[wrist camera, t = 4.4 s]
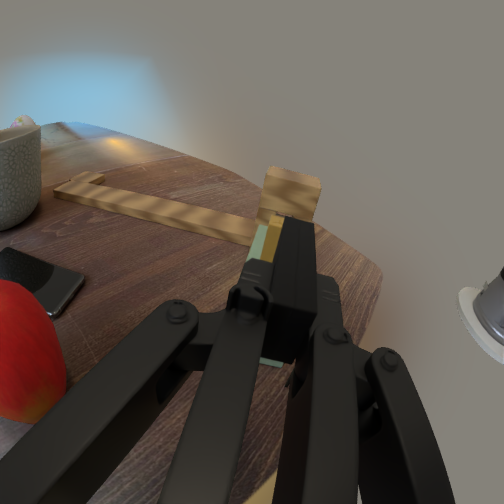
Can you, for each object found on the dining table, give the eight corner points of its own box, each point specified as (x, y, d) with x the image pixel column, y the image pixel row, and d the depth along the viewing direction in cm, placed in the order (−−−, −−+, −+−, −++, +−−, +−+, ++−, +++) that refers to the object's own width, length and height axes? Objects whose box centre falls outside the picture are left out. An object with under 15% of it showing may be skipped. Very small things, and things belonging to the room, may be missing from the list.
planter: (25, 192, 43) (21, 123, 35) (61, 212, 40) (56, 126, 32) (-36, 223, 29) (-48, 147, 21) (-16, 255, 26) (-36, 156, 18)
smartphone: (53, 316, 22) (-25, 274, 21) (56, 323, 22) (-22, 280, 22) (86, 274, 28) (7, 245, 27) (88, 281, 29) (8, 251, 28)
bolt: (290, 251, 32) (310, 181, 28) (280, 329, 22) (315, 236, 17) (265, 244, 33) (282, 173, 28) (244, 320, 22) (268, 223, 17)
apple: (14, 349, 18) (-34, 244, 11) (91, 362, 20) (56, 249, 14) (-7, 431, 10) (-93, 337, 4) (82, 457, 13) (-1, 377, 6)
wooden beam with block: (301, 225, 52) (318, 165, 45) (299, 267, 40) (324, 189, 33) (86, 177, 54) (86, 127, 48) (44, 200, 42) (40, 141, 36)
